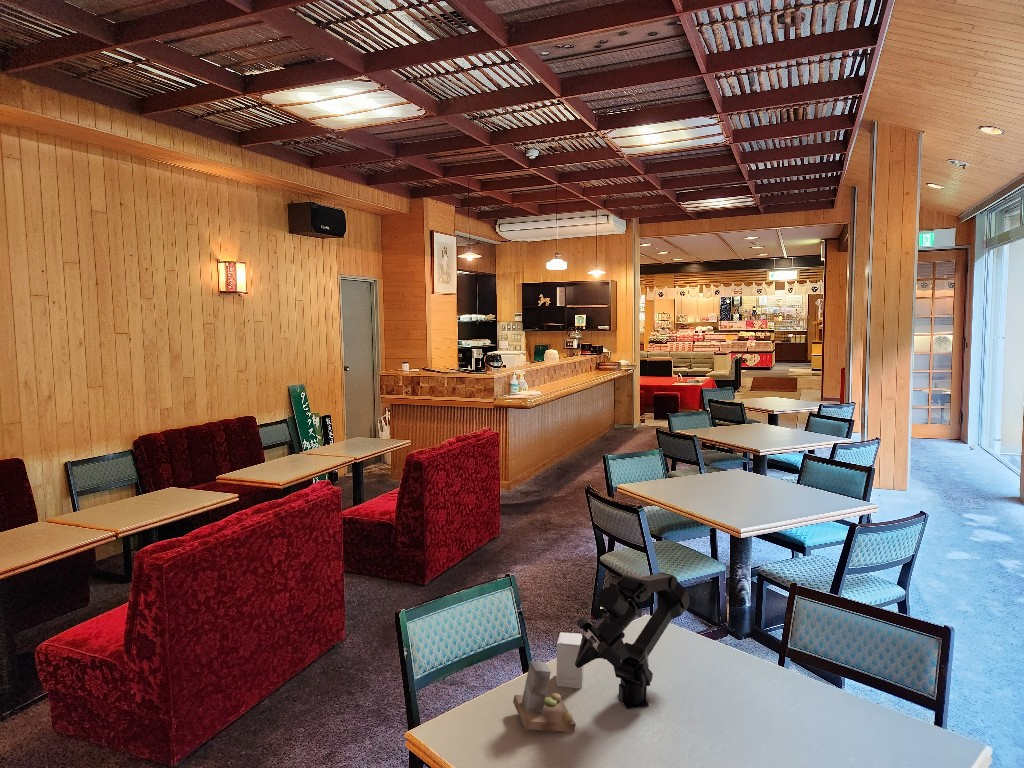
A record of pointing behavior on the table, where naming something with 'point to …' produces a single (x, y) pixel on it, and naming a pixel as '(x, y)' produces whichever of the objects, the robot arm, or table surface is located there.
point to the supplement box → (569, 661)
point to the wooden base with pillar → (542, 703)
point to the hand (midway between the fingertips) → (576, 666)
